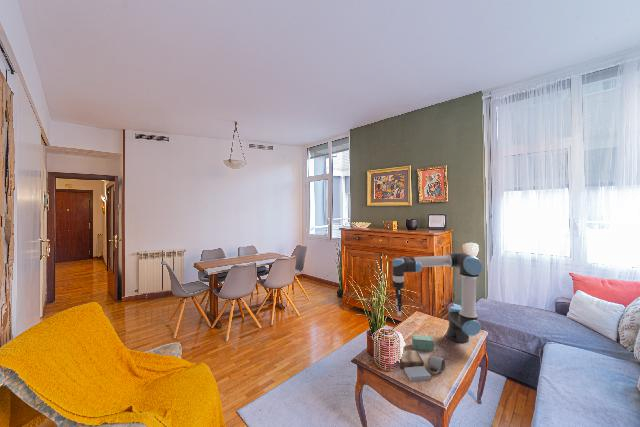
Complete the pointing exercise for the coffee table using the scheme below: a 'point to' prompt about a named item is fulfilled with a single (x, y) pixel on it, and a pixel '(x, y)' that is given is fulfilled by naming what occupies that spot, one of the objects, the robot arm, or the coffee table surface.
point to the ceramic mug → (436, 364)
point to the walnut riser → (410, 359)
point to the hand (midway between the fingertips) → (398, 311)
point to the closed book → (417, 373)
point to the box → (422, 342)
